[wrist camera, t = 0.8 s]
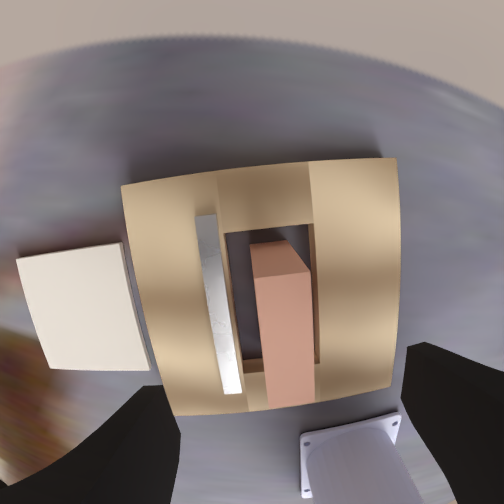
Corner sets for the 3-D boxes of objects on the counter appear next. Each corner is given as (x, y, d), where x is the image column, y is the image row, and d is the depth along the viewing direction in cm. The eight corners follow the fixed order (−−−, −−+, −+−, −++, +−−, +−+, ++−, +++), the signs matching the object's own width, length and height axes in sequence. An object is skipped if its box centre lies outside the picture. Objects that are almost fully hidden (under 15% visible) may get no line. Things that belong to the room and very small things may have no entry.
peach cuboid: (294, 338, 18) (314, 401, 12) (260, 343, 18) (268, 408, 12) (286, 240, 17) (310, 271, 11) (249, 244, 17) (254, 278, 11)
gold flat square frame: (382, 374, 19) (393, 390, 17) (177, 401, 19) (172, 420, 17) (384, 159, 16) (400, 157, 14) (130, 185, 16) (116, 186, 14)
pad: (151, 366, 18) (149, 370, 18) (53, 364, 18) (50, 368, 18) (122, 241, 17) (119, 243, 16) (20, 257, 16) (16, 259, 16)
